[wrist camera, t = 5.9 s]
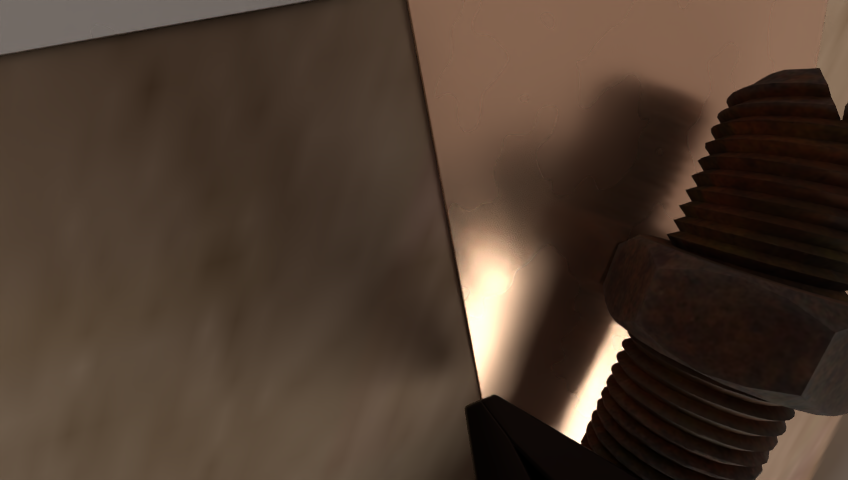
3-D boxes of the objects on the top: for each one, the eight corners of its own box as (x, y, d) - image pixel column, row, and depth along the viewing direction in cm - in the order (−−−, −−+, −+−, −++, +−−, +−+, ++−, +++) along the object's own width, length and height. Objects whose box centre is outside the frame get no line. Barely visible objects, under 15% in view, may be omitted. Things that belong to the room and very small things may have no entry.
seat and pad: (743, 471, 16) (746, 473, 16) (314, 703, 13) (314, 707, 12) (847, -145, 9) (853, -148, 8) (-160, -5, 5) (-169, -6, 5)
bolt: (679, 103, 11) (510, 532, 15) (639, 30, 7) (419, 639, 11) (1013, 147, 8) (694, 696, 11) (1265, 55, 4) (660, 945, 7)
